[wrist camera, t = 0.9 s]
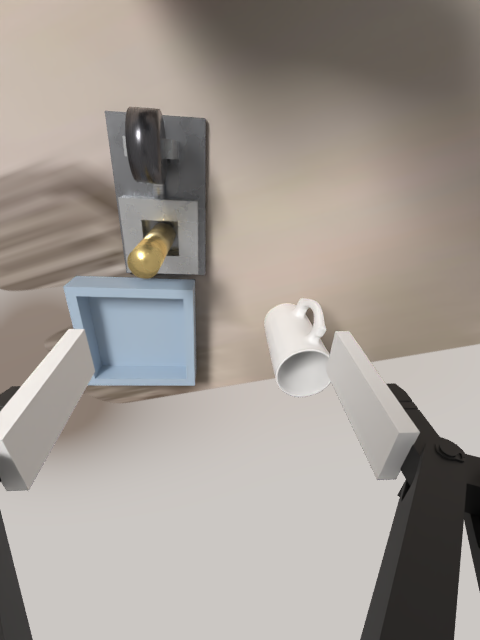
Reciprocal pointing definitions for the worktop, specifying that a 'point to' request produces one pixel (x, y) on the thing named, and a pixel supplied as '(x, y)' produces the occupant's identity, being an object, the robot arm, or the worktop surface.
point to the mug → (297, 348)
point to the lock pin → (151, 251)
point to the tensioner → (161, 182)
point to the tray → (136, 328)
